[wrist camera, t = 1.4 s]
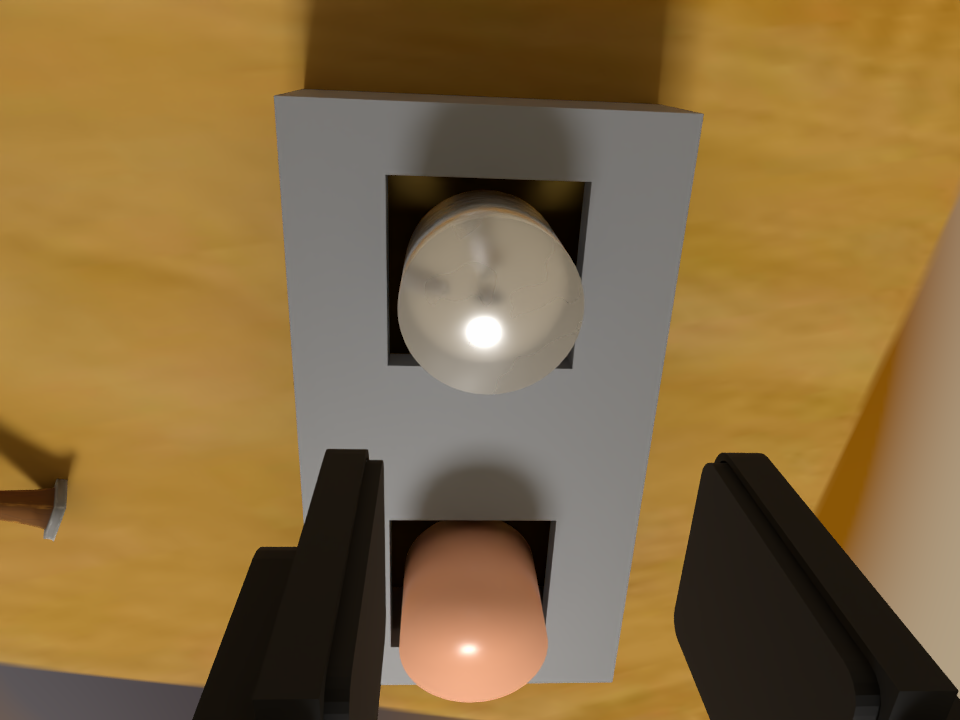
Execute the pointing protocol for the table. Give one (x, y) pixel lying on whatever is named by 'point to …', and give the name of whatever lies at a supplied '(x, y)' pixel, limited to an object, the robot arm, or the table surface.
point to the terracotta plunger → (471, 611)
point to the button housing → (496, 417)
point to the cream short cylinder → (488, 294)
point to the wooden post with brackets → (36, 507)
